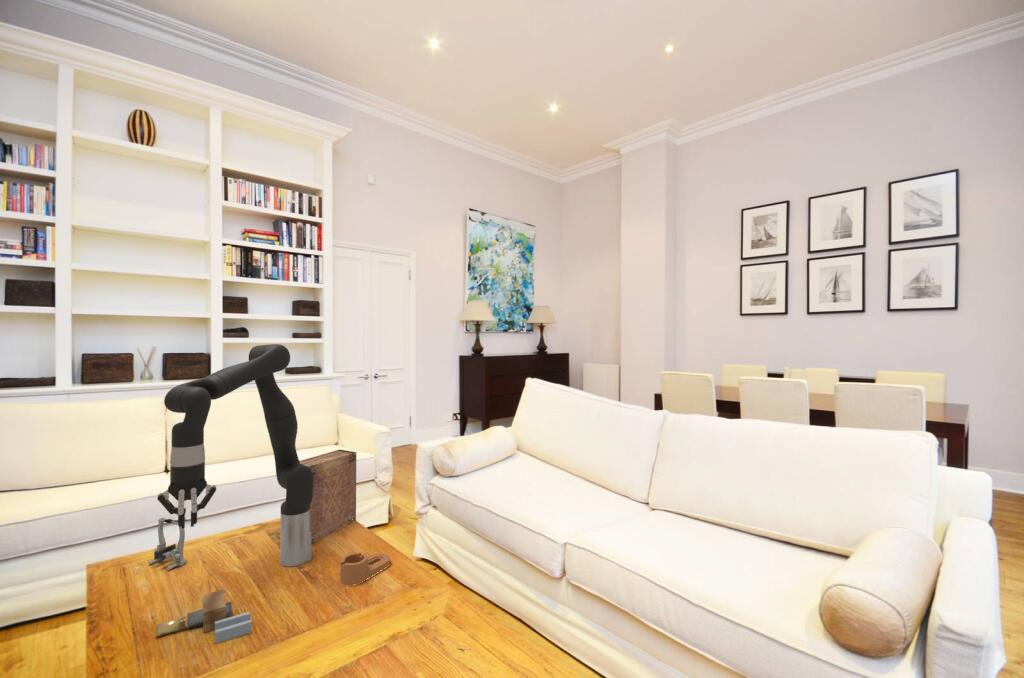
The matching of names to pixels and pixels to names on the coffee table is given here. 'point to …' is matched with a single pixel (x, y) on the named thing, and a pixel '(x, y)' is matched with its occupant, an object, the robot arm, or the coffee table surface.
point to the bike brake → (170, 551)
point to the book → (332, 492)
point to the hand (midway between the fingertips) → (187, 526)
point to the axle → (197, 616)
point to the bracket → (361, 567)
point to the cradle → (232, 627)
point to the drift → (170, 626)
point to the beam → (213, 609)
